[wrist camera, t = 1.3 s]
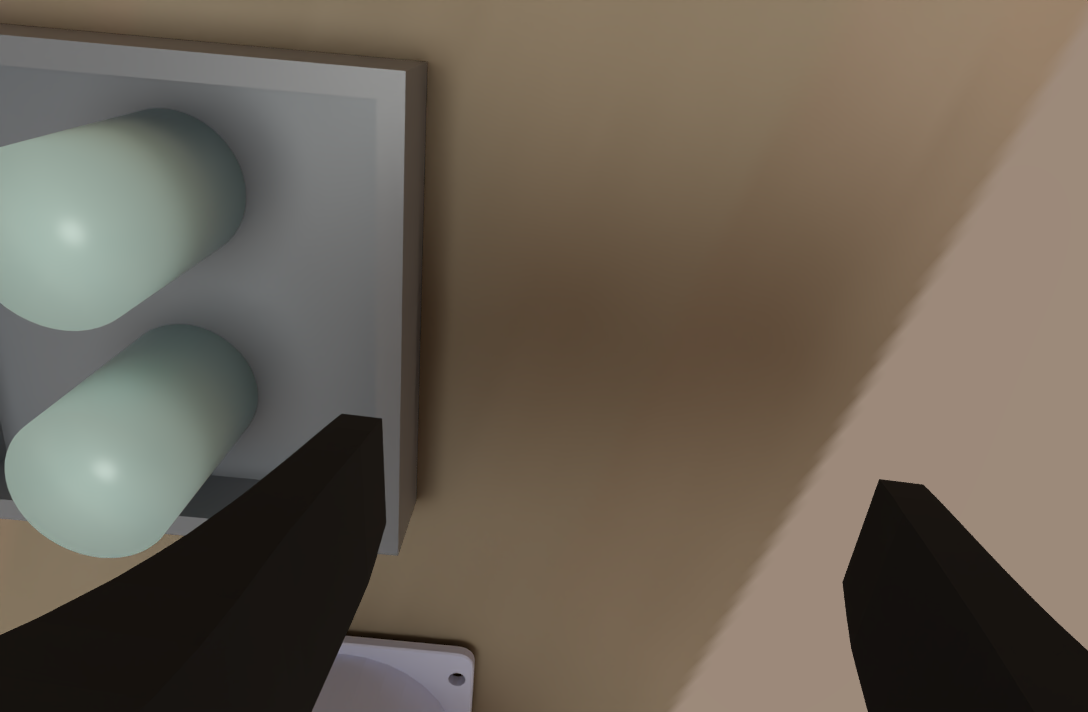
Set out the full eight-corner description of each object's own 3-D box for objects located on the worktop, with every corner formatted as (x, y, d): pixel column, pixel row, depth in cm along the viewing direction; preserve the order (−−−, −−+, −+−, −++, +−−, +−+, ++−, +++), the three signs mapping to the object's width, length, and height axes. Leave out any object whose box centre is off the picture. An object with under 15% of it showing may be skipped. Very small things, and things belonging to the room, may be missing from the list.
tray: (416, 500, 24) (398, 555, 22) (3, 462, 24) (-60, 512, 22) (427, 61, 19) (405, 71, 17) (-87, 15, 20) (-180, 18, 17)
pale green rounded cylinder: (261, 452, 23) (181, 565, 18) (131, 439, 23) (19, 550, 18) (254, 330, 22) (166, 420, 17) (115, 318, 22) (-10, 404, 17)
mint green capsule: (250, 264, 21) (157, 339, 16) (107, 250, 21) (-27, 322, 16) (241, 115, 19) (135, 152, 15) (87, 101, 20) (-65, 134, 15)
